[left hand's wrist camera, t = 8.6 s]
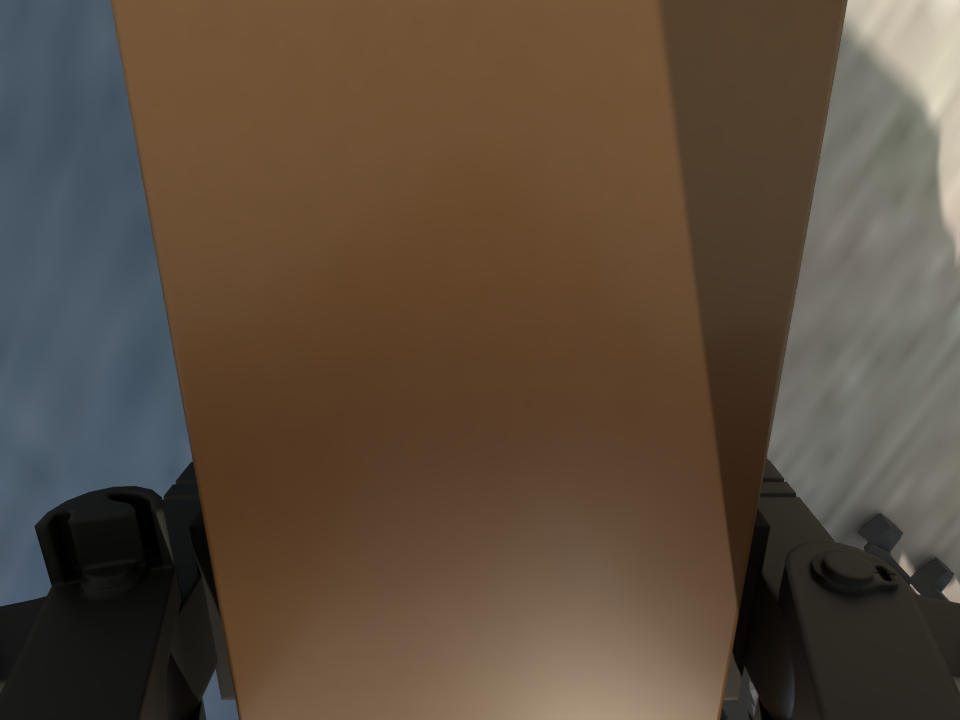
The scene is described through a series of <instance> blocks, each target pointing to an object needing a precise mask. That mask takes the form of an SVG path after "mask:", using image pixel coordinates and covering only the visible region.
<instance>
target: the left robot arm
mask: <svg viewBox="0 0 960 720" xmlns="http://www.w3.org/2000/svg"><path fill="white" fill-rule="evenodd" d="M35 529H36V533H37V536H38V540H39V543H40V547H41V550H42V554H43V557H44V561H45V564H46V568H47V571H48V575H49V578H50V581H51V585H52V587H51V589H50V591H49V593H48V595H47V596H46V597H42V598H38V599H34V600H30V601H25V602H20V603H15V604H10V605H6V606H1V607H0V720H206V715H205V709H204V704H203V699H202V696H203V694H204V692H205V690H206V688H207V686H208V684H209V681H210V679H211V677H212V675H213V673H214V671H215V669H216V673H217V678H218V683H219V688H220V694H221V699H222V700H236V699H235V693H234V688H233V682H232V677H231V671H230V665H229V660H228V654H227V649H226V643H225V638H224V632H223V626H222V621H221V615H220V610H219V604H218V598H217V593H216V587H215V582H214V576H213V570H212V565H211V559H210V554H209V548H208V542H207V537H206V531H205V526H204V520H203V514H202V509H201V503H200V498H199V492H198V487H197V481H196V475H195V470H194V464H193V462H191V463H190V464H189V465H188V467H187V468H186V469H185V470H184V472H183V473H182V474H181V475H180V477H179V478H178V479H177V480H176V484H173V485H172V486H171V488H170V489H169V490H168V491H167V493H166V494H165V495H164V500H162V497H161V496H159V495H158V494H157V493H156V492H154V491H153V490H151V489H146V488H142V487H137V486H124V487H111V488H106V489H101V490H97V491H92V492H88V493H86V494H83V495H81V496H78V497H76V498H73V499H70V500H68V501H66V502H64V503H62V504H61V505H59V506H57V507H56V508H54V509H53V510H51V511H49V512H48V513H46V514H45V516H44V517H43V518H42V519H41V520H40V521H39V522H38V523H37V524H36V525H35ZM744 666H745V668H746V670H747V673H748V675H749V677H750V679H751V681H752V683H753V685H754V687H755V690H756V692H757V694H758V699H757V704H756V709H755V714H754V719H753V720H960V604H959V603H954V602H949V601H945V600H940V599H935V598H930V597H925V596H922V595H918V594H914V593H912V592H911V590H910V588H909V586H908V584H907V583H906V582H905V580H904V579H903V578H902V577H901V575H900V574H899V573H898V571H897V570H895V569H894V568H892V567H891V566H890V565H888V564H887V563H885V562H884V561H883V560H881V559H880V558H878V557H876V556H874V555H872V554H869V553H867V552H865V551H863V550H861V549H858V548H856V547H852V546H848V545H844V544H840V543H836V542H835V541H834V540H833V538H832V537H831V536H830V535H829V534H828V532H827V531H826V530H825V529H824V527H823V526H822V525H821V524H820V522H819V521H818V520H817V519H816V517H815V516H814V515H813V514H812V513H811V511H810V510H809V509H808V508H807V506H806V505H805V504H804V503H803V501H802V500H801V499H800V498H799V497H796V493H795V492H794V490H793V489H792V488H791V487H790V485H789V484H788V483H787V482H784V478H783V477H782V476H781V474H780V473H779V472H778V471H777V469H776V468H775V467H774V466H773V464H772V463H771V462H770V461H769V460H768V459H766V463H765V469H764V475H763V480H762V486H761V492H760V497H759V503H758V508H757V514H756V520H755V525H754V531H753V537H752V542H751V548H750V554H749V559H748V565H747V571H746V576H745V582H744V587H743V593H742V599H741V604H740V610H739V616H738V621H737V627H736V633H735V638H734V644H733V650H732V655H731V661H730V667H729V672H728V678H727V683H726V689H725V695H724V700H738V697H739V691H740V686H741V681H742V675H743V670H744Z"/></svg>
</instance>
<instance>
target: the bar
mask: <svg viewBox="0 0 960 720" xmlns="http://www.w3.org/2000/svg"><path fill="white" fill-rule="evenodd" d="M111 6H112V11H113V17H114V22H115V28H116V34H117V39H118V45H119V50H120V56H121V62H122V67H123V73H124V78H125V84H126V89H127V95H128V101H129V106H130V112H131V117H132V123H133V129H134V134H135V140H136V145H137V151H138V157H139V162H140V168H141V173H142V179H143V185H144V190H145V196H146V201H147V207H148V212H149V218H150V224H151V229H152V235H153V240H154V246H155V252H156V257H157V263H158V268H159V274H160V280H161V285H162V291H163V296H164V302H165V308H166V313H167V319H168V324H169V330H170V336H171V341H172V347H173V352H174V358H175V363H176V369H177V375H178V380H179V386H180V391H181V397H182V403H183V408H184V414H185V419H186V425H187V431H188V436H189V442H190V447H191V453H192V459H193V464H194V470H195V475H196V481H197V487H198V492H199V498H200V503H201V509H202V514H203V520H204V526H205V531H206V537H207V542H208V548H209V554H210V559H211V565H212V570H213V576H214V582H215V587H216V593H217V598H218V604H219V610H220V615H221V621H222V626H223V632H224V638H225V643H226V649H227V654H228V660H229V665H230V671H231V677H232V682H233V688H234V693H235V699H236V705H237V710H238V716H239V720H720V717H721V712H722V706H723V700H724V695H725V689H726V683H727V678H728V672H729V667H730V661H731V655H732V650H733V644H734V638H735V633H736V627H737V621H738V616H739V610H740V604H741V599H742V593H743V587H744V582H745V576H746V571H747V565H748V559H749V554H750V548H751V542H752V537H753V531H754V525H755V520H756V514H757V508H758V503H759V497H760V492H761V486H762V480H763V475H764V469H765V463H766V458H767V452H768V446H769V441H770V435H771V429H772V424H773V418H774V413H775V407H776V401H777V396H778V390H779V384H780V379H781V373H782V367H783V362H784V356H785V350H786V345H787V339H788V333H789V328H790V322H791V317H792V311H793V305H794V300H795V294H796V288H797V283H798V277H799V271H800V266H801V260H802V254H803V249H804V243H805V238H806V232H807V226H808V221H809V215H810V209H811V204H812V198H813V192H814V187H815V181H816V175H817V170H818V164H819V159H820V153H821V147H822V142H823V136H824V130H825V125H826V119H827V113H828V108H829V102H830V96H831V91H832V85H833V80H834V74H835V68H836V63H837V57H838V51H839V46H840V40H841V34H842V29H843V23H844V17H845V12H846V6H847V0H111Z"/></svg>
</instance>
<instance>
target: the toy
mask: <svg viewBox="0 0 960 720" xmlns="http://www.w3.org/2000/svg"><path fill="white" fill-rule="evenodd" d="M858 533H859V534H860V535H861V536H863V537H864V538H865V539H866V540H867V541H868V543H867V544H866V545H865V547H864V549H865V551H866V552H867V553H869V554H872V555H874V556H876V557H878V558H880V559H881V560H883V561H884V562H885V563H887V564H888V565H890V566H891V567H892V568H894V569H895V570H897V571H898V573H899V574H900V575H901V577H902V578H903V579H904V580H905V582H906V583H907V584H908V586H909V588H910V590H911V592H912V593H914V594H917V593H916V592H915V591H914V590H913V589H912V587H911V586H910V584H912V585H913V586H914V588H915V589H916V590H917V591H918V592H919V593H920V594H921V595H922V596H925V597H930V598H935V599H940V600H945V601H949V600H948V599H947V598H946V597H945V596H944V595H943V594H942V593H941V592H942V590H943V589H944V588H945V587H946V585H947V584H948V583H949V581H950V580H951V578H952V576H953V575H954V573H953V572H952V571H951V570H950V569H949V568H948V567H947V566H946V565H945V564H944V563H942V562H941V561H940V560H939V559H937V558H936V557H935V558H934V559H933V560H932V561H930V562H929V563H928V564H927V565H925V566H924V567H923V568H922V569H920V570H919V571H918V572H917V573H915V574H914V575H913V576H912V577H910V576H909V575H908V574H907V573H906V572H905V571H904V570H903V569H902V568H901V567H900V566H899V565H898V564H897V563H896V562H895V561H894V559H893V558H892V556H891V554H890V551H891V550H892V549H893V547H894V546H895V545H896V543H897V542H898V541H899V539H900V538H901V536H902V534H903V532H902V531H901V530H900V529H899V528H898V527H897V526H896V525H895V524H894V523H892V522H891V521H890V520H889V519H887V518H886V517H885V516H884V515H882V514H881V513H880V514H878V515H877V516H876V517H875V518H874V519H872V520H871V521H870V522H869V523H868V524H867V525H865V526H864V527H863V528H862V529H861V530H860V531H858ZM949 602H950V601H949ZM757 699H758V694H757V692H756V690H755V687H754V685H753V683H752V681H751V679H750V677H749V675H748V673H747V670H746V668H745V666H744V670H743V675H742V681H741V686H740V691H739V697H738V700H723V706H722V712H721V717H720V720H753V719H754V714H755V709H756V704H757Z"/></svg>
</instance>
